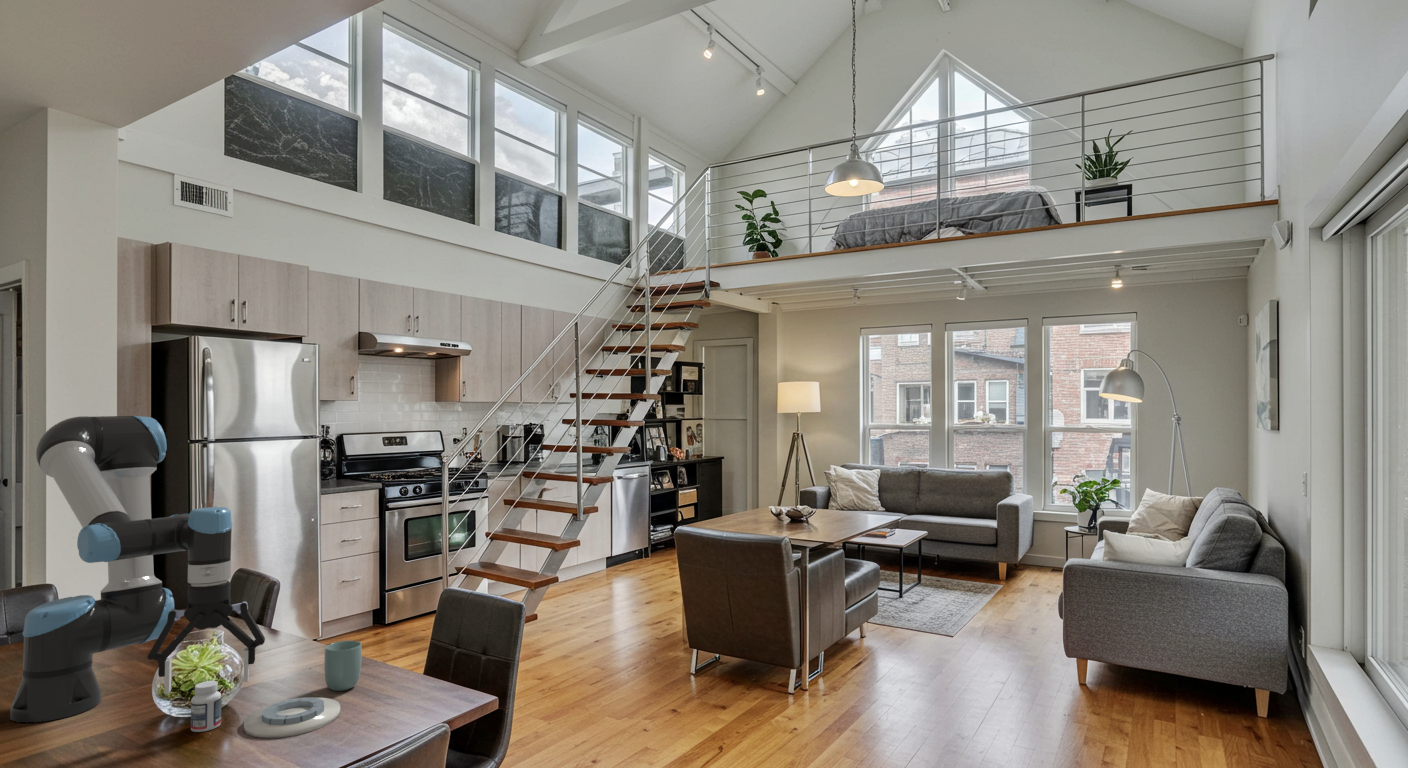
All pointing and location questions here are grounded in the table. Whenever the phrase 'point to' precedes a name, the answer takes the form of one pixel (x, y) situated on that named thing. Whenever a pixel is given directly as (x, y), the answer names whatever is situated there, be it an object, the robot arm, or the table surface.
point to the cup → (342, 664)
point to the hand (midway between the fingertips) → (207, 686)
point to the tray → (291, 717)
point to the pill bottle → (206, 707)
